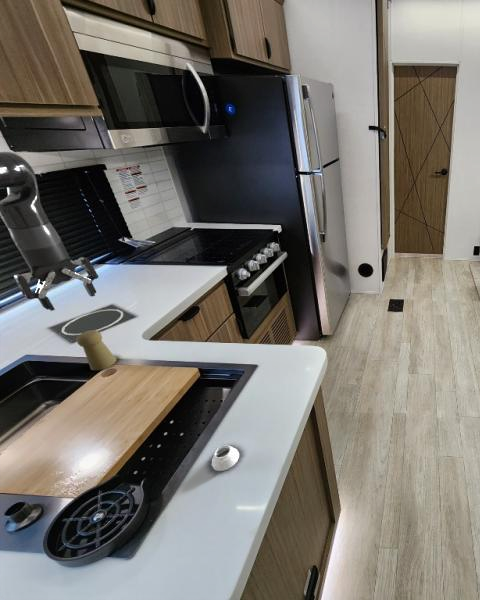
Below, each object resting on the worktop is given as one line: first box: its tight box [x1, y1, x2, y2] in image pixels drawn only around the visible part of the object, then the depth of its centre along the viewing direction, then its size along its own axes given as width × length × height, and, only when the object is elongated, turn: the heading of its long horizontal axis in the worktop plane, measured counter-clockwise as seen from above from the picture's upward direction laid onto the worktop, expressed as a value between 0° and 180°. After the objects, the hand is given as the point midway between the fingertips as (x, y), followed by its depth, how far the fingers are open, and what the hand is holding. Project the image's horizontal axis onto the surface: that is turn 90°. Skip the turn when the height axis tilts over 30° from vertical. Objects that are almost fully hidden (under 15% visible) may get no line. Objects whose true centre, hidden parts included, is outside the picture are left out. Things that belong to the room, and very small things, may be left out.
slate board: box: [50, 304, 136, 344], centre depth 116 cm, size 18×18×1 cm
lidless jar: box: [211, 444, 240, 472], centre depth 67 cm, size 5×3×5 cm
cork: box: [76, 330, 117, 372], centre depth 93 cm, size 6×6×11 cm
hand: (72, 302), depth 87 cm, fingers open, 8 cm apart
